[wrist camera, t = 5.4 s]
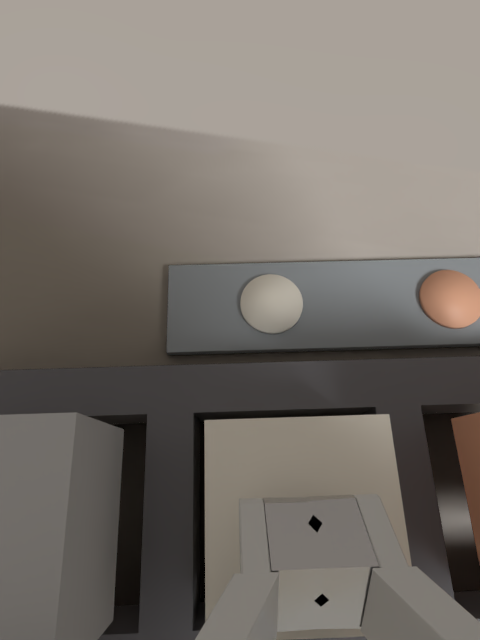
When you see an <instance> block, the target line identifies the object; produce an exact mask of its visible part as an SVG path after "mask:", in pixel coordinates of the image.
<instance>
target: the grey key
mask: <svg viewBox="0 0 480 640" xmlns="http://www.w3.org/2000/svg"><path fill="white" fill-rule="evenodd" d="M123 439H124V429H121V428H119V427H116V426H113V425H110V424H107V423H105V422H102V421H99V420H96V419H94V418H91V417H88V416H85V415H82V414H80V413H77V412H74V413H42V414H11V415H0V640H98V639H99V637H100V636H101V635H102V634H103V632H104V631H105V630H106V629H107V627H108V626H109V625H110V624H111V622H112V621H113V613H114V596H115V578H116V561H117V544H118V526H119V509H120V491H121V474H122V457H123Z"/></svg>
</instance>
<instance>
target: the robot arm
mask: <svg viewBox="0 0 480 640" xmlns="http://www.w3.org/2000/svg"><path fill="white" fill-rule="evenodd" d="M239 543H240V573H237V574H233V576H232V578H231V580H230V581H229V583H228V585H227V586H226V588H225V590H224V591H223V593H222V595H221V596H220V598H219V600H218V602H217V603H216V605H215V607H214V608H213V610H212V612H211V613H210V615H209V617H208V618H207V620H206V622H205V624H204V625H203V627H202V629H201V630H200V632H199V634H198V635H197V637H196V639H195V640H275V639H276V637H277V632H286V631H299V630H312V629H361V632H362V634H363V635H364V636H365V637H366V639H367V640H480V622H479V621H478V620H477V619H476V618H474V617H473V616H472V615H471V614H470V613H469V612H468V611H467V610H465V609H464V608H463V607H462V606H461V605H460V604H459V603H458V602H456V601H455V600H454V599H453V598H452V597H451V596H450V595H448V594H447V593H446V592H445V591H444V590H443V589H442V588H441V587H439V586H438V585H437V584H436V583H435V582H434V581H433V580H431V579H430V578H429V577H428V576H427V575H426V574H425V573H424V572H422V571H421V570H420V569H419V568H418V567H417V566H409V565H408V563H407V560H406V558H405V556H404V553H403V551H402V549H401V546H400V544H399V541H398V539H397V537H396V534H395V532H394V529H393V527H392V525H391V522H390V520H389V518H388V515H387V513H386V510H385V508H384V506H383V503H382V501H381V498H380V497H379V496H378V495H377V494H359V495H351V494H350V495H330V496H310V497H291V498H263V499H262V498H239Z"/></svg>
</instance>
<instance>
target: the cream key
mask: <svg viewBox="0 0 480 640" xmlns="http://www.w3.org/2000/svg"><path fill="white" fill-rule="evenodd" d="M204 434H205V622H206V620H207V618H208V617H209V615H210V613H211V612H212V610H213V608H214V607H215V605H216V603H217V602H218V600H219V598H220V596H221V595H222V593H223V591H224V590H225V588H226V586H227V585H228V583H229V581H230V580H231V578H232V576H233V574H237V573H240V543H239V498H262V499H263V498H291V497H310V496H330V495H350V494H351V495H359V494H377V495H378V496H379V497H380V498H381V501H382V503H383V506H384V508H385V510H386V513H387V515H388V518H389V520H390V522H391V525H392V527H393V529H394V532H395V534H396V537H397V539H398V541H399V544H400V546H401V549H402V551H403V553H404V556H405V558H406V560H407V563H408V565H409V566H412V564H411V557H410V550H409V544H408V537H407V530H406V524H405V517H404V510H403V503H402V497H401V490H400V483H399V477H398V470H397V463H396V456H395V450H394V443H393V436H392V430H391V423H390V416H389V414H376V415H345V416H314V417H283V418H252V419H221V420H204ZM363 636H364V635H363V634H362V632H361V629H312V630H299V631H286V632H277V637H276V639H275V640H294V639H317V638H340V637H363Z"/></svg>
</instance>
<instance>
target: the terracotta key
mask: <svg viewBox="0 0 480 640" xmlns="http://www.w3.org/2000/svg"><path fill="white" fill-rule="evenodd" d="M451 422H452V427H453V432H454V437H455V442H456V447H457V452H458V457H459V462H460V467H461V473H462V478H463V483H464V488H465V493H466V498H467V503H468V508H469V513H470V518H471V523H472V529H473V534H474V539H475V544H476V549H477V554H478V559H479V564H480V412H478V413H474V414H469V415H465V416H461V417H457V418H452V419H451Z"/></svg>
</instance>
